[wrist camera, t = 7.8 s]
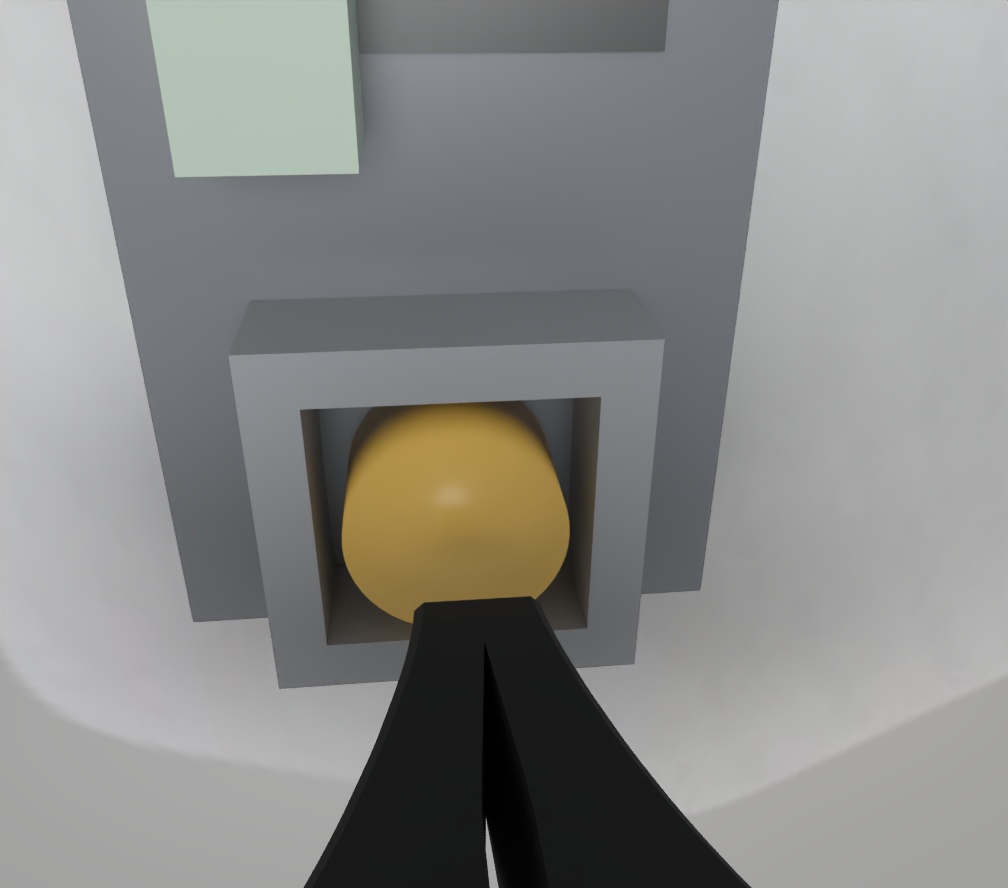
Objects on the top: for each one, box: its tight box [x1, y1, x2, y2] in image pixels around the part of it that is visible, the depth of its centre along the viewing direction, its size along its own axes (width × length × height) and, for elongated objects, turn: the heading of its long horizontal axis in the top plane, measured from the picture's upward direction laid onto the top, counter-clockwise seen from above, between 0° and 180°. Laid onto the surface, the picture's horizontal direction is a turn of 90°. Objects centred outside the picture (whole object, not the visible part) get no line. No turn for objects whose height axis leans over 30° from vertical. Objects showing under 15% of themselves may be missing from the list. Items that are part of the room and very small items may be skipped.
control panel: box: [67, 0, 779, 689], centre depth 12 cm, size 19×9×4 cm, turn 0°
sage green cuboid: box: [146, 0, 365, 177], centre depth 10 cm, size 3×2×2 cm
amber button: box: [342, 400, 570, 624], centre depth 14 cm, size 3×3×2 cm
